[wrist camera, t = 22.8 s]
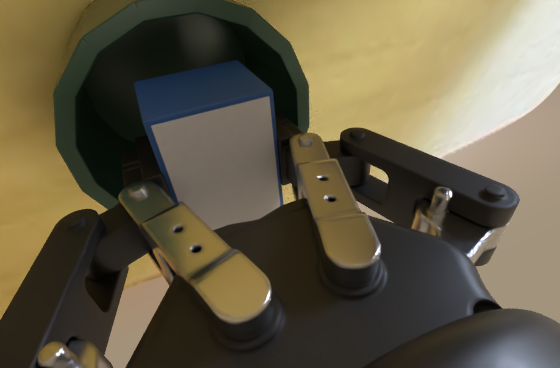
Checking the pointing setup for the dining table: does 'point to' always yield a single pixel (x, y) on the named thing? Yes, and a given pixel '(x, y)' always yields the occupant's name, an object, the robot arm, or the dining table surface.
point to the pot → (155, 75)
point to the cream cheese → (215, 141)
